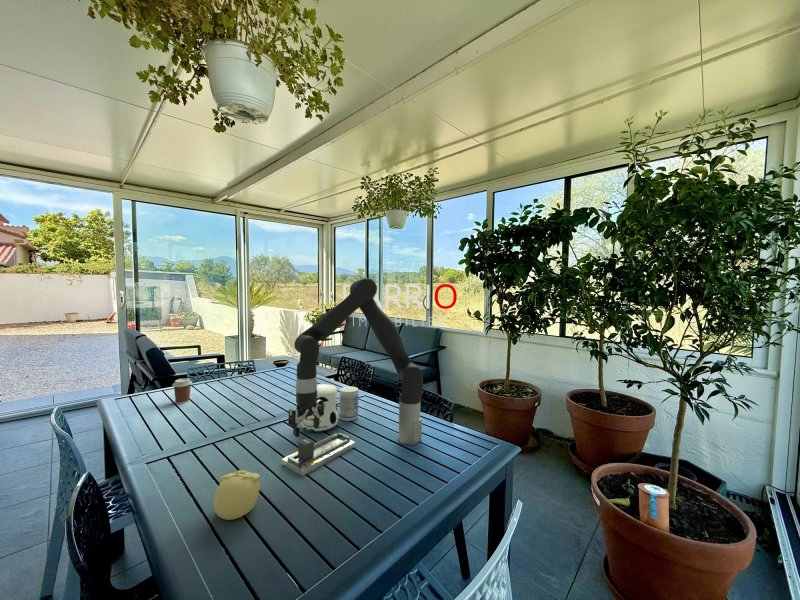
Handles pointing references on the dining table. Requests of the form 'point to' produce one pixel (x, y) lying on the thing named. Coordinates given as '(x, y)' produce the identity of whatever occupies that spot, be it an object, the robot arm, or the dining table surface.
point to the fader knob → (305, 449)
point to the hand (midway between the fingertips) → (306, 432)
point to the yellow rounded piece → (236, 494)
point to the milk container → (330, 409)
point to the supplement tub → (348, 403)
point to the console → (320, 454)
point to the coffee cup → (182, 390)
